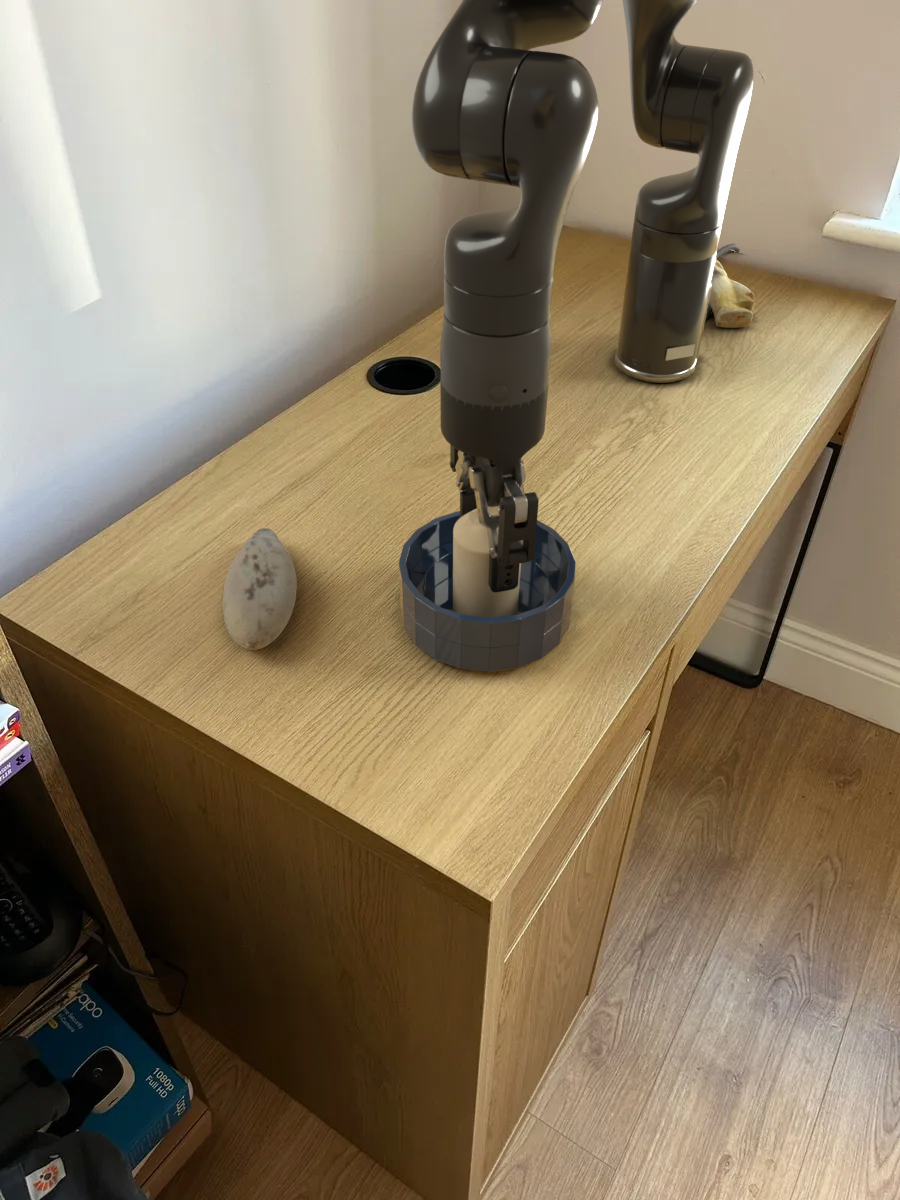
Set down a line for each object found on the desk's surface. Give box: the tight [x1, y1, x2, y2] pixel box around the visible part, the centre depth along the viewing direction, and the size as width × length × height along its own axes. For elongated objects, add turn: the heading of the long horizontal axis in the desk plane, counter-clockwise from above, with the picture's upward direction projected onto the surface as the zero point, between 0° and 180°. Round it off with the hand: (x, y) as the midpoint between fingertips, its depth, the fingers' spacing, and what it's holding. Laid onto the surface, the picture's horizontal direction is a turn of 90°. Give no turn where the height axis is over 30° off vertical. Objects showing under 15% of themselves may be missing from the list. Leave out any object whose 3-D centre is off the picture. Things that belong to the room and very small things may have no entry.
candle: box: [453, 506, 521, 618], centre depth 78 cm, size 6×6×10 cm
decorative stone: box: [222, 527, 298, 651], centre depth 82 cm, size 6×16×3 cm, turn 7°
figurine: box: [708, 258, 756, 329], centre depth 125 cm, size 5×5×15 cm
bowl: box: [398, 510, 577, 673], centre depth 80 cm, size 14×14×6 cm
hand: (487, 556), depth 78 cm, fingers open, 7 cm apart
